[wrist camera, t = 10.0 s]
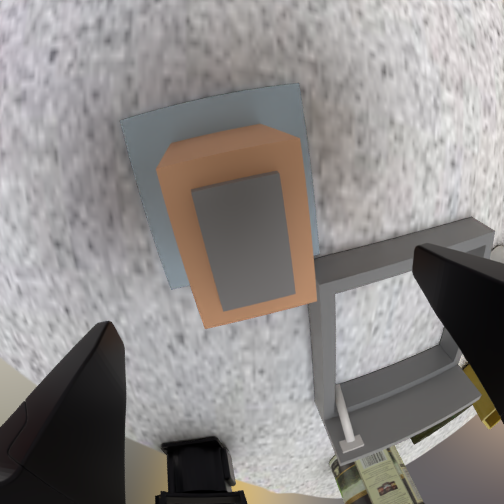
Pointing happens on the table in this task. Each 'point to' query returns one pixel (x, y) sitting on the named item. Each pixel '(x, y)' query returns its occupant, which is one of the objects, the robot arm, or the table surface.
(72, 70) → the table surface
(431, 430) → the rod
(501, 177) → the table surface
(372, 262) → the grey open frame
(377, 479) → the coffee can
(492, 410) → the flower pot
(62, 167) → the table surface
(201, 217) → the block
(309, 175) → the mat
